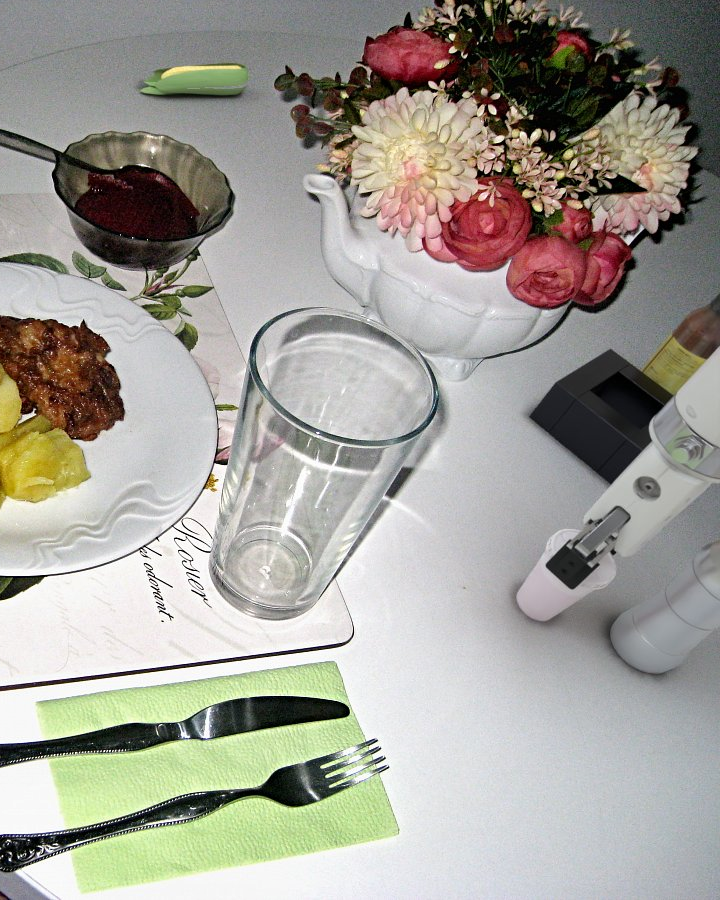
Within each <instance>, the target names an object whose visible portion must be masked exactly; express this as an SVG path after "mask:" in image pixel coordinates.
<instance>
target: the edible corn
mask: <svg viewBox="0 0 720 900" xmlns="http://www.w3.org/2000/svg"><path fill="white" fill-rule="evenodd" d="M152 73H153V74H154V75H152V76H148V77H147V78H146V79H145V80H144V81H143V83H144V84H146V85H148V86H147V87H143V88H142V89H140V90H139V92H142V93H144V94H150V95H159V96H160V95H161V96H162V95H163V96H164V95H203V96H236V95H237V96H238V95H239V94H240V93H242V92H243V91H244V90H245V89H246V88H247V86H248V84H247V85H246V86H245V87H243V88H234V89H214V88H205V87H221V86H222V87H224V86H225V87H226V86H227V87H229V86H238V85H242V84H245V83H246V82H247V80H248V78H250V79H251V73H250V72H249V70H248V67H246V66H245V65H244V64H242V63H239V62H238V63H237V62H220V63H219V62H218V63H209V64H197V65H184V66H183V65H182V66H176V67H167V68H159V69H156V70H153V71H152ZM247 83H248V82H247ZM187 88H200V89H187Z"/></svg>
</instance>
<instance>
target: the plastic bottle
mask: <svg viewBox="0 0 720 900" xmlns="http://www.w3.org/2000/svg"><path fill="white" fill-rule="evenodd" d="M718 629H720V539H719V540H715V541H713V542H710V543H707V544H706V545H704V546H703V547H702V548H701V549H700V550H699V551H698V552H697V553H696V554H695V556H693V557H692V559H691V560H690V561H689V562H688V563H687V565H686V566H685V567H684V568H683V570H682V571H681V572H680V573H679V574H678V575H676V576H675V578H673V579H672V580H671V581H670V583H668V584H667V585H665V587H664V588H663V589H662V590H660V591H658V592H657V593H655V594H653V595H652V596H651V597H649V598H647V599H646V600H644V601H643V602H641V603H638V604H635V605H634V606H632V607H629V608H628V609H626V610H625V611H623V612H622V613H620V614H619V616H618V617H617V618H616V619H615V621H614V622H613V624H612V625H611V626H610V642H611V644H612V647H613V648H614V650H615V652H616V653H617V655H618V656H619V657H620V658H621V659H622V660H623V661H624V662H625V663H627V664H628V665H629V666H631V667H633V668H634V669H636V670H638V671H640V672H644V673H647V674H655V675H656V674H663V673H665V672H668V671H670V670H673V669H676V668H677V667H679V666H680V665H681V664H682V663H683V662H684V661H685V660H686V659H687V658H688V657H689V655H690V654H691V652H692V651H693V650H694V649H695V648H696V647H697V646H698V645H700V643H702V642H703V640H705V639H706V638H707V637H708V636H709V635H711V633H713V632H715V631H717V630H718Z"/></svg>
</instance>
